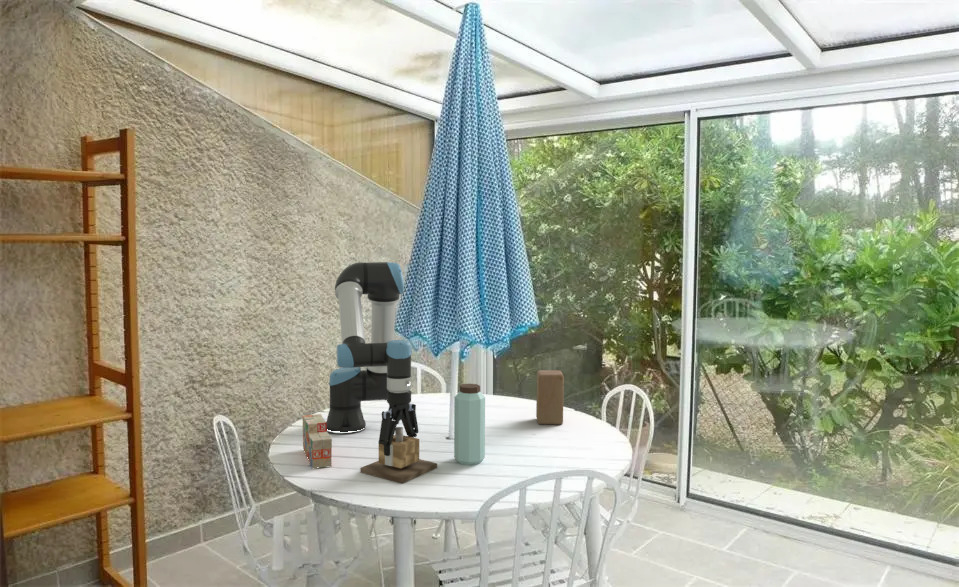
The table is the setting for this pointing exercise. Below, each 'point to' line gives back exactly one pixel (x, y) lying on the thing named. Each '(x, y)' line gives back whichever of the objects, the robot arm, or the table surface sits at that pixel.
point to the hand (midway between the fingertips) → (399, 460)
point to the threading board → (399, 473)
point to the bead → (402, 452)
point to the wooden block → (550, 397)
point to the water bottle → (469, 425)
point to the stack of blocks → (316, 441)
